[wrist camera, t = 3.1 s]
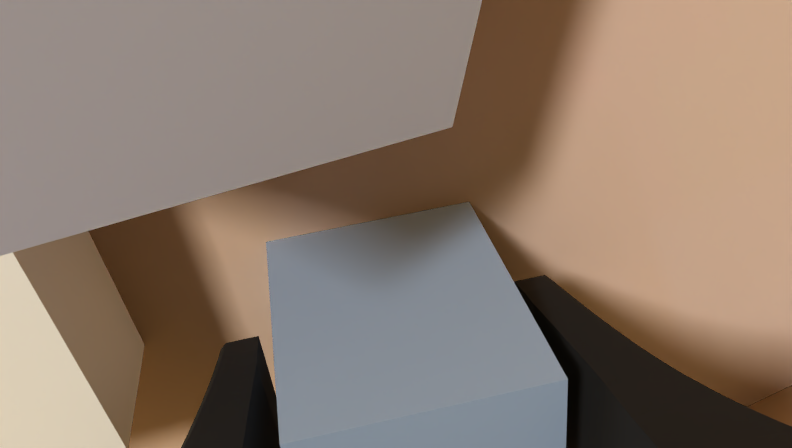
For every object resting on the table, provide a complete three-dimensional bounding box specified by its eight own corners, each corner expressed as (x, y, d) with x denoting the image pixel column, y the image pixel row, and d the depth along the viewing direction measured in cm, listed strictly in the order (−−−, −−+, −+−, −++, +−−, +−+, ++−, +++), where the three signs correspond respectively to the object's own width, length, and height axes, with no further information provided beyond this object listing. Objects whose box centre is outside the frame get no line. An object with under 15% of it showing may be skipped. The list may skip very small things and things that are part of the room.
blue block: (478, 350, 16) (562, 548, 12) (304, 388, 16) (328, 608, 12) (468, 200, 14) (567, 379, 10) (266, 240, 14) (280, 445, 9)
